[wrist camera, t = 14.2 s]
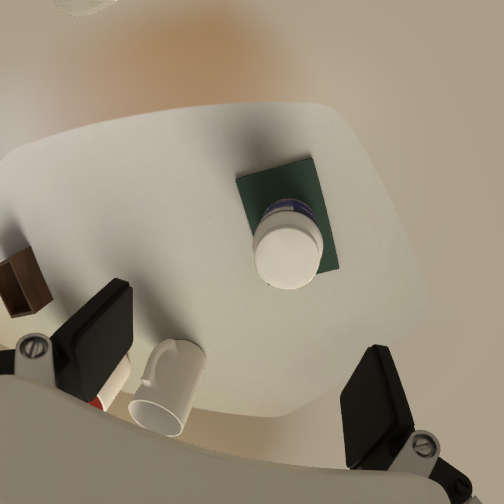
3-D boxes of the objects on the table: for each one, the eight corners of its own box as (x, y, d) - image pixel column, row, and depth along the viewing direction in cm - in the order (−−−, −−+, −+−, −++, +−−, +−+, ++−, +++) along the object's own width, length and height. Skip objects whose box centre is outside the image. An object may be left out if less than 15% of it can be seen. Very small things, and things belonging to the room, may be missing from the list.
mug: (212, 376, 39) (188, 441, 28) (169, 371, 40) (138, 430, 29) (201, 318, 36) (166, 384, 25) (154, 315, 37) (110, 373, 26)
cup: (85, 360, 43) (55, 395, 34) (82, 318, 40) (45, 354, 30) (132, 385, 43) (107, 426, 34) (134, 345, 40) (102, 389, 30)
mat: (236, 178, 29) (235, 179, 29) (312, 157, 28) (312, 157, 27) (268, 283, 33) (268, 285, 32) (338, 266, 31) (339, 268, 31)
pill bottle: (325, 239, 30) (338, 281, 21) (274, 259, 31) (266, 306, 22) (304, 188, 28) (309, 208, 19) (252, 210, 30) (232, 239, 21)
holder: (7, 259, 39) (-11, 269, 34) (30, 246, 37) (9, 257, 32) (28, 305, 42) (11, 318, 37) (53, 299, 40) (35, 313, 35)
